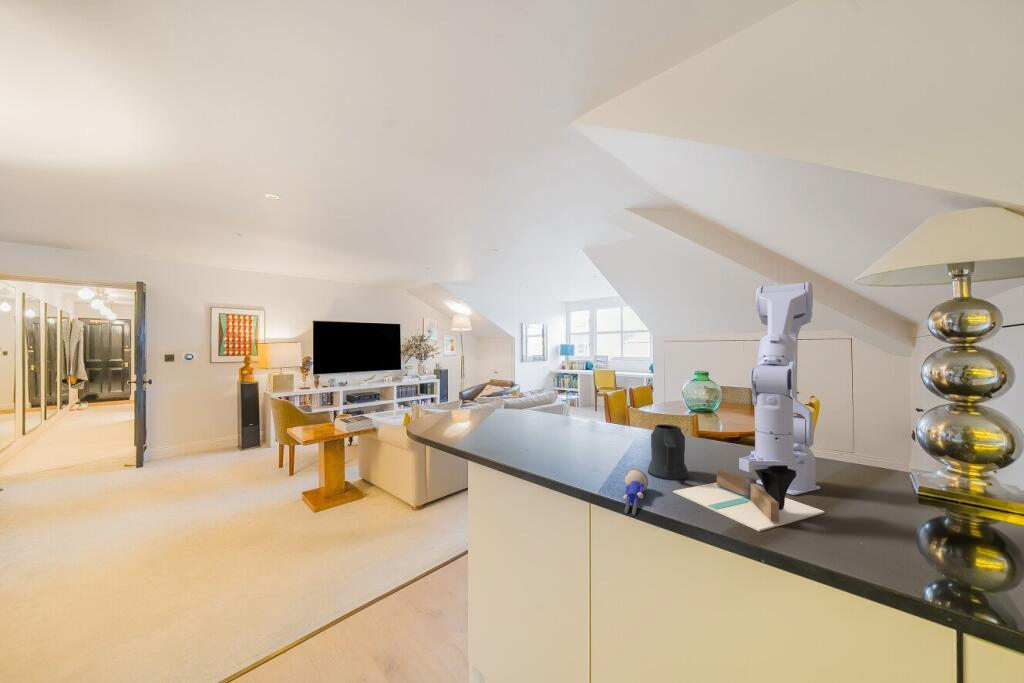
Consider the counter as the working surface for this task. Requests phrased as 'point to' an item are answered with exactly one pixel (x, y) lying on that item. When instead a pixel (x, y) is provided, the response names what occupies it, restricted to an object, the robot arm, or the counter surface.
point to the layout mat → (745, 506)
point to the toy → (634, 488)
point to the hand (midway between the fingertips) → (774, 507)
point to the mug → (668, 453)
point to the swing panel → (765, 502)
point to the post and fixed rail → (735, 483)
